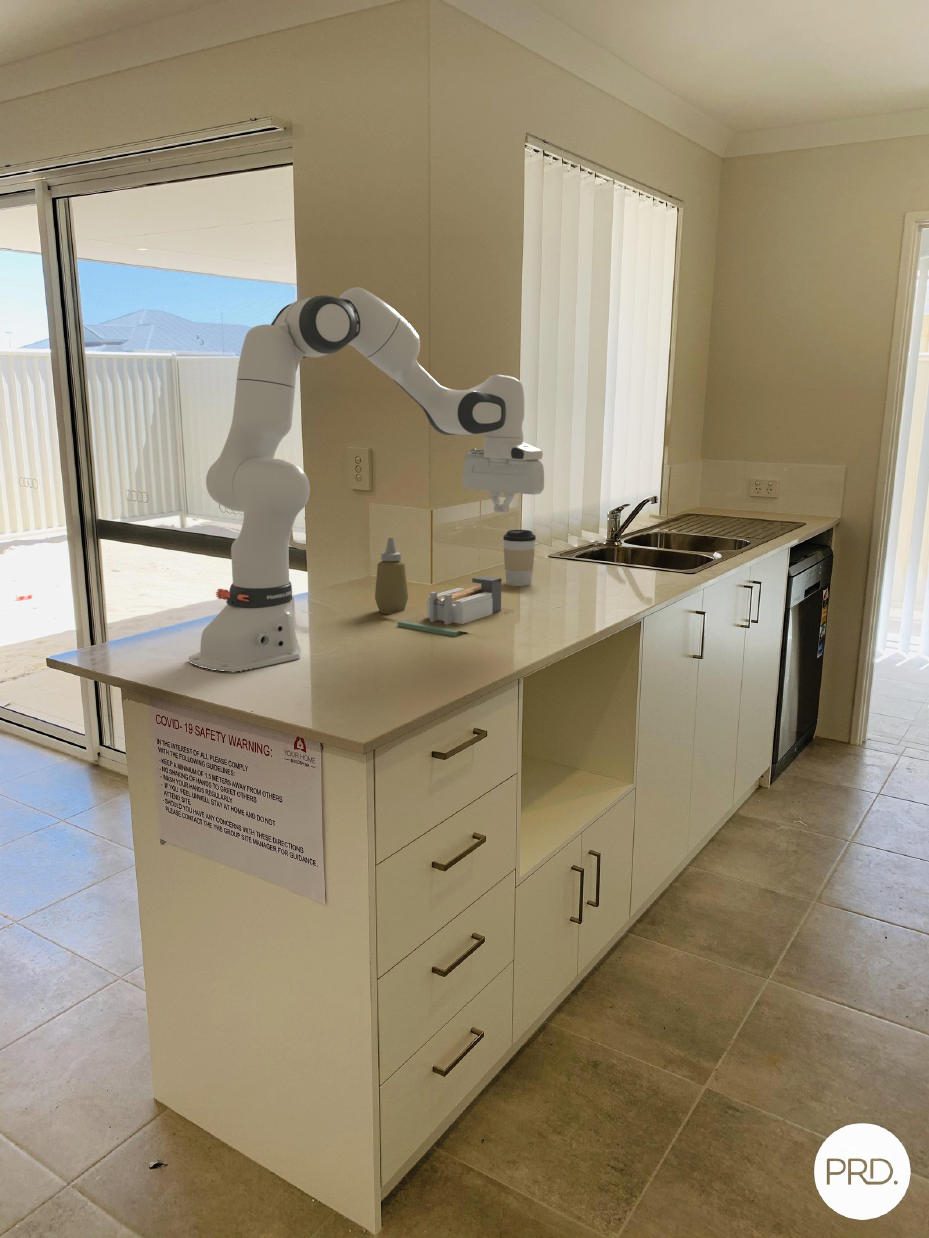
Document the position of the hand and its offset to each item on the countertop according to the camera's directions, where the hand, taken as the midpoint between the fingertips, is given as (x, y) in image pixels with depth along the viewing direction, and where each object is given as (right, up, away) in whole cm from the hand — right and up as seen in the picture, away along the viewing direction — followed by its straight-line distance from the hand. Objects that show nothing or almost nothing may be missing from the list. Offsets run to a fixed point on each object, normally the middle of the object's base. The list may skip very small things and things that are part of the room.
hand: (501, 512), depth 213 cm
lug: (-3, -22, +10) cm, 25 cm away
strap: (-9, -20, +4) cm, 22 cm away
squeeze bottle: (-26, -23, +12) cm, 37 cm away
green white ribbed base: (-10, -25, +4) cm, 27 cm away
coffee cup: (+7, -15, +47) cm, 50 cm away
